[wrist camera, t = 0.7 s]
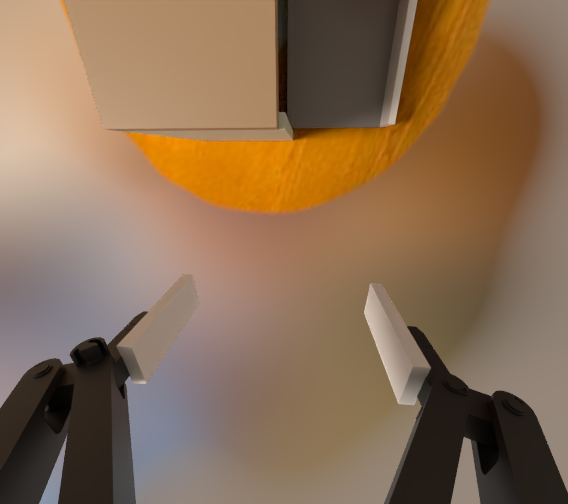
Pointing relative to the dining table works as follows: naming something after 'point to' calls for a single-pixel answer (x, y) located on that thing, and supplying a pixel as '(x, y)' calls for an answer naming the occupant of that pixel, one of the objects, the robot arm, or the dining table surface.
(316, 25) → the tray
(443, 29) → the dining table surface
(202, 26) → the beige open box
